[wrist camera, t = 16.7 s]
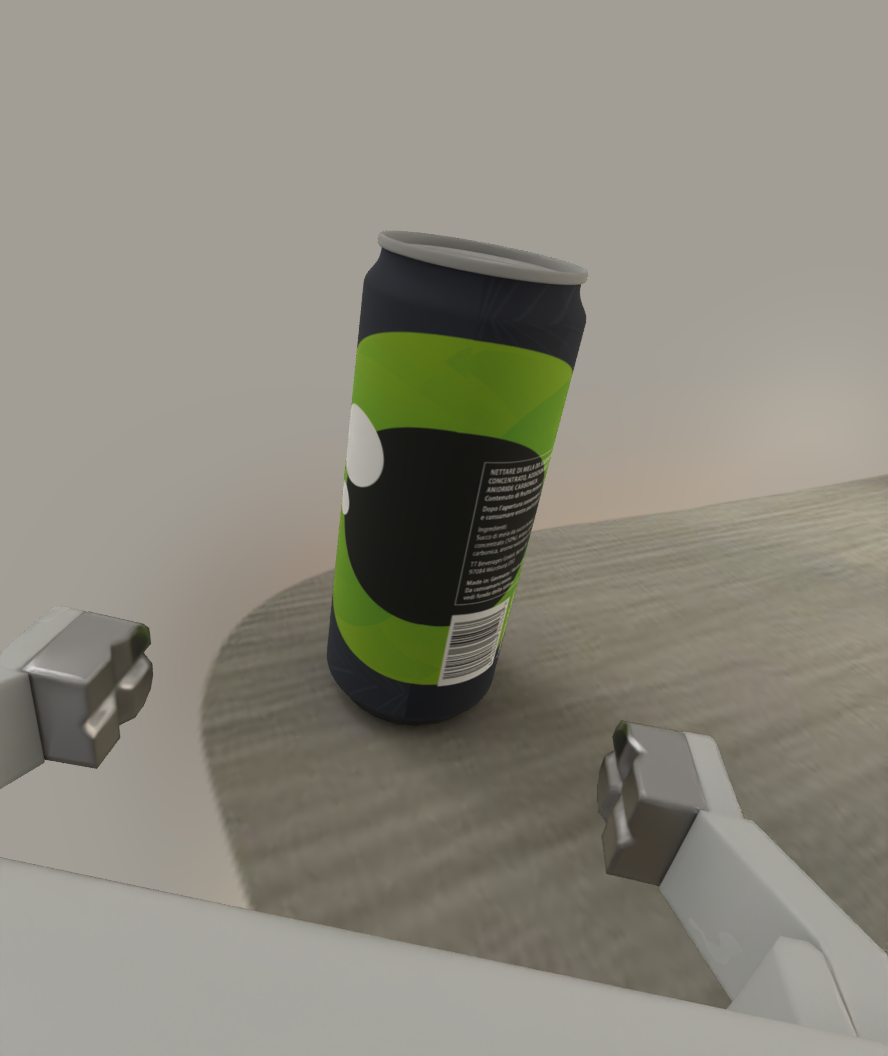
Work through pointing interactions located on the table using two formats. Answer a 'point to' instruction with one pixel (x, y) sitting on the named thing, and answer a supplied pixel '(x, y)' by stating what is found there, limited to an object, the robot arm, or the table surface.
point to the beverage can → (445, 465)
